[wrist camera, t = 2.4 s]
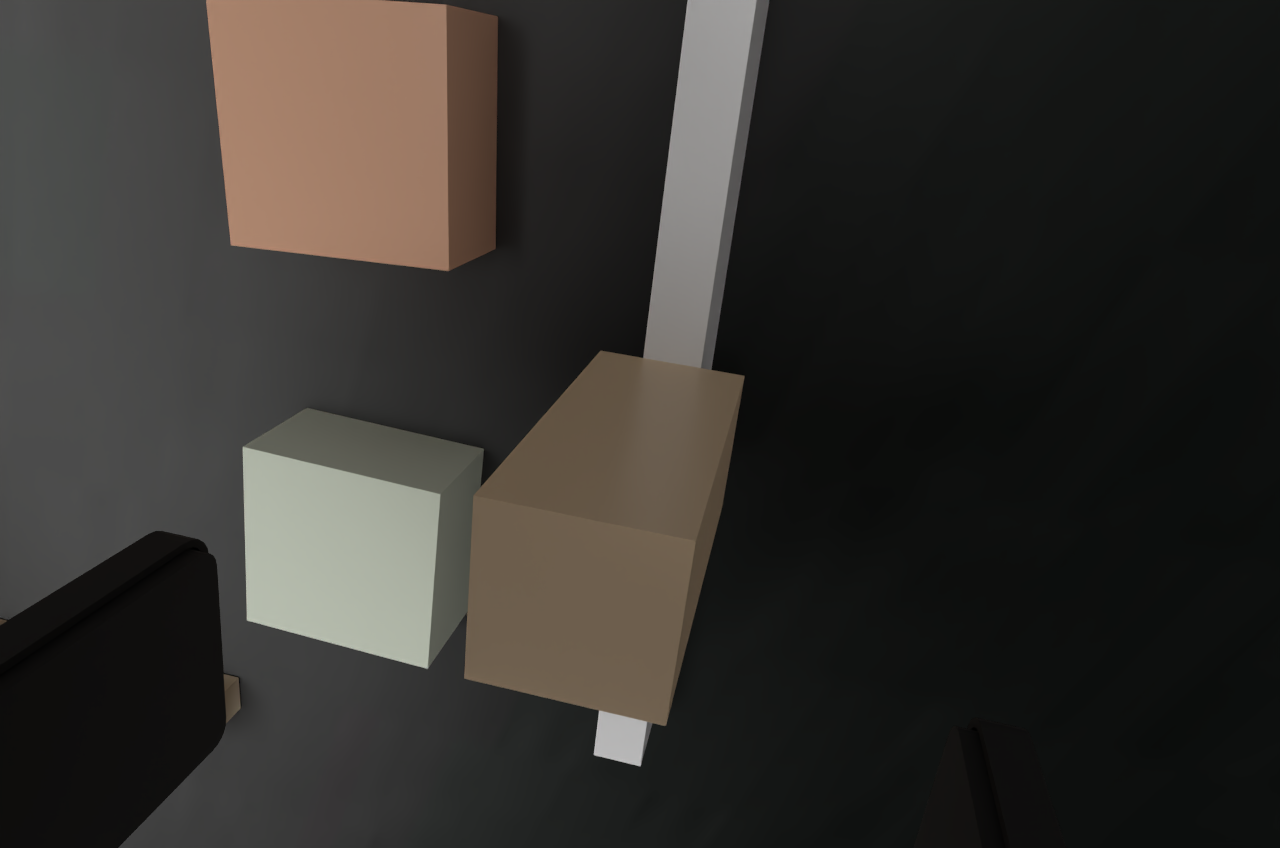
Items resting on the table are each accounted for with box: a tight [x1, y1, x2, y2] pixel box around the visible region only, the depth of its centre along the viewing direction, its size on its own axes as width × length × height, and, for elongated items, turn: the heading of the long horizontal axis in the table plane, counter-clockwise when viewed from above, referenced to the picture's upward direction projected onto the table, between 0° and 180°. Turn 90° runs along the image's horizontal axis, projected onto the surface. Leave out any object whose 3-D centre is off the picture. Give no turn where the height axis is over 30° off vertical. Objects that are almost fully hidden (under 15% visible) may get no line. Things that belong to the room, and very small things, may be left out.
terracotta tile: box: [206, 0, 498, 271], centre depth 19 cm, size 5×5×3 cm
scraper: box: [464, 0, 769, 766], centre depth 16 cm, size 18×3×10 cm, turn 173°
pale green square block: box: [243, 408, 484, 669], centre depth 23 cm, size 5×5×3 cm
